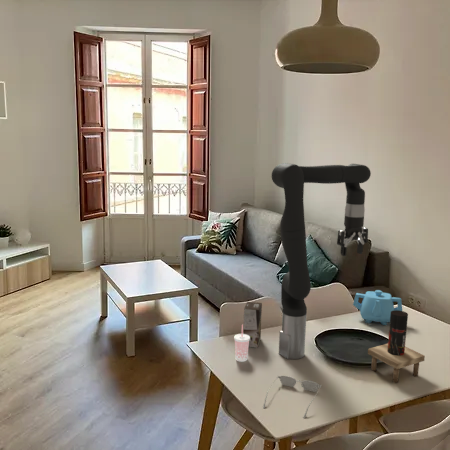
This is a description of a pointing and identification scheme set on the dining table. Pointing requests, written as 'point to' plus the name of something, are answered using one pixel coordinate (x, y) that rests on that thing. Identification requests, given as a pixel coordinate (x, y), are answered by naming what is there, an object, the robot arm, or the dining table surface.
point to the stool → (395, 359)
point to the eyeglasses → (291, 382)
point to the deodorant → (397, 332)
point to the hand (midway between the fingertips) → (351, 254)
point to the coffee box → (253, 322)
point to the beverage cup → (241, 346)
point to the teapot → (376, 306)
